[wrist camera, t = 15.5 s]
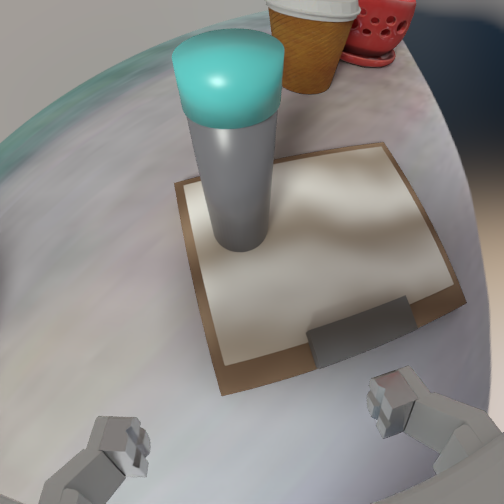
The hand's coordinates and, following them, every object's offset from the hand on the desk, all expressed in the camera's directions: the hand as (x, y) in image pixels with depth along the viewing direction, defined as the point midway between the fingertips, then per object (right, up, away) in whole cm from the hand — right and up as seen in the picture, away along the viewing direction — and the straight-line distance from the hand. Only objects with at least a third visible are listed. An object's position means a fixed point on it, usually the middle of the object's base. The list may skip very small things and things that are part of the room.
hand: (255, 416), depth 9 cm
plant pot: (+15, +34, +26) cm, 45 cm away
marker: (-1, +7, +12) cm, 14 cm away
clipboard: (+5, +6, +13) cm, 15 cm away
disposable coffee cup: (+6, +25, +22) cm, 34 cm away
